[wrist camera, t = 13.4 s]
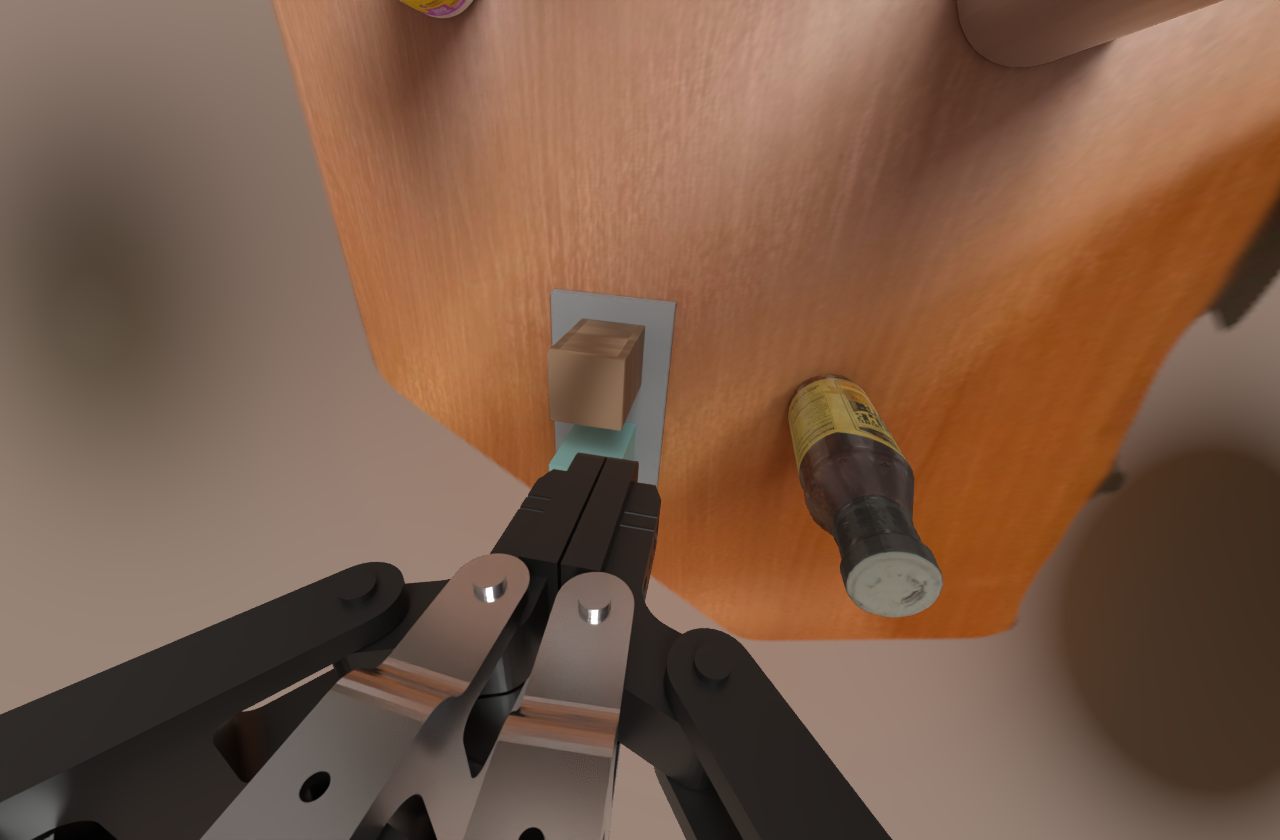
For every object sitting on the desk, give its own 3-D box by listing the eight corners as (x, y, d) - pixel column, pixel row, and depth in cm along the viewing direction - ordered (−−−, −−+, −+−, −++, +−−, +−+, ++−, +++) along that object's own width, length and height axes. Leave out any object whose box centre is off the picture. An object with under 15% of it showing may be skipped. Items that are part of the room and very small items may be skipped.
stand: (676, 301, 36) (660, 337, 28) (657, 485, 45) (641, 551, 37) (555, 288, 37) (507, 318, 29) (559, 469, 46) (524, 530, 38)
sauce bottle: (876, 419, 37) (999, 626, 20) (803, 448, 40) (857, 655, 23) (846, 352, 35) (954, 521, 18) (770, 387, 38) (802, 564, 21)
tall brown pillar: (645, 325, 36) (624, 361, 29) (641, 385, 39) (621, 430, 32) (582, 318, 37) (547, 351, 30) (582, 377, 39) (549, 420, 32)
